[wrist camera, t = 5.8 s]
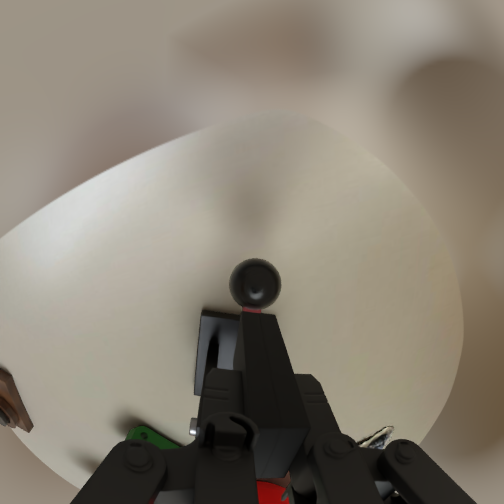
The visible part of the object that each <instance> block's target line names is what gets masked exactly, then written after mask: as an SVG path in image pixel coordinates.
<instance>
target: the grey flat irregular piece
mask: <svg viewBox="0 0 504 504" xmlns="http://www.w3.org/2000/svg"><path fill="white" fill-rule="evenodd" d="M393 431H394V427H386V428H384V429H383V431H381V432H378V433H377V434H376V435H375V436H374V437H373V438H371V439H370V440H369V441H367V442H364V443H363V444H360V445H358V446H360V447H364V448H374V449H382V448H383V447H384V446H385V445H386V444H387V443H388V442H389V441H390V438H391V435H392V433H393Z"/></svg>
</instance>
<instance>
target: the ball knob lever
mask: <svg viewBox="0 0 504 504" xmlns="http://www.w3.org/2000/svg"><path fill="white" fill-rule="evenodd" d="M229 288H230V292H231V295H232V297H233V298H234V300H235V301H236V302H237V303H238V304H239V305H240V306H242V311H247V312H255V313H261V310H262V309H265V308H267V307H269V306H270V305H272V304H273V303H274V302H275V301H276V299H277V298H278V296H279V294H280V291H281V278H280V275H279V272H278V271H277V269H276V268H275V267H274V266H273V265H272V264H271V263H269V262H268V261H266V260H263V259H258V258H252V259H248V260H245V261H243V262H241V263H240V264H239V265H237V266H236V267H235V269H234V270H233V272H232V274H231V276H230V280H229Z"/></svg>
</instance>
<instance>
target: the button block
mask: <svg viewBox="0 0 504 504" xmlns="http://www.w3.org/2000/svg"><path fill="white" fill-rule="evenodd" d="M0 409H1V410H2V411H3V412H4V413H5V414H6V415H7V416H8V418H9V420H10V421H9V422H8V424H7V425H8V426H9V427H11V428H16V426H18V427H19V428H21V429H23V430H24V431H26V432H28V433H29V432H30V431H31V429H32V428H33V424H32V422H31V420H30V418H29V416H28V414H27V412H26V409H25V407H24V405H23V403H22V400H21V398H20V396H19V393H18V391H17V388H16V386H15V383H14V381H13V378H12V376H11V375H10V374H8V373H6V372H5V371H3V370H1V369H0Z"/></svg>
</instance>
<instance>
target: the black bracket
mask: <svg viewBox="0 0 504 504" xmlns="http://www.w3.org/2000/svg"><path fill="white" fill-rule="evenodd" d="M240 317H241V315H235V314H228V313H221V312H214V311H208V310H202V313H201V319H200V329H199V339H198V349H197V360H196V372H195V384H194V395H197V396H201V397H200V403H199V410H198V418H191V422H190V430H189V434H190V435H193V436H196V437H195V439H196V438H197V436H198V435H199V431H200V425H201V416H202V406H203V397H204V389H205V380H206V375H207V374H208V373H209V372H210V371H211V369H212V368H220V369H228V370H233V357H234V351H235V346H236V340H237V334H238V329H239V323H240Z"/></svg>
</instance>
